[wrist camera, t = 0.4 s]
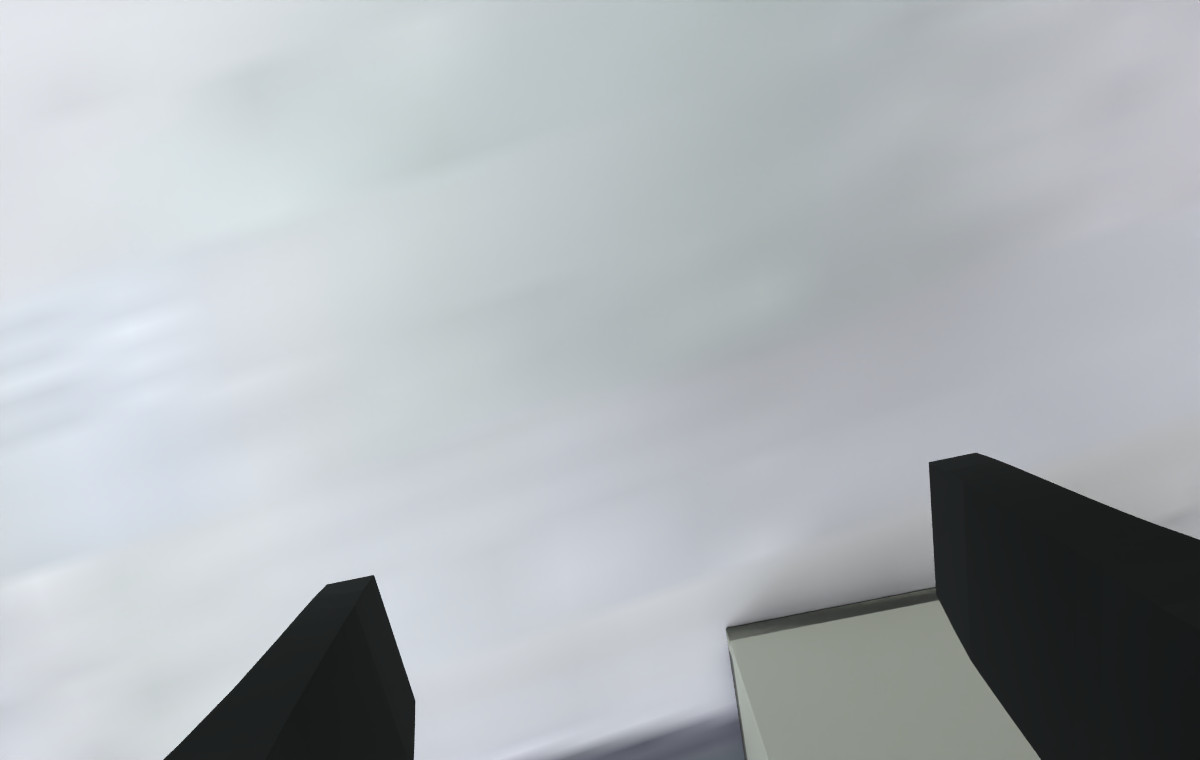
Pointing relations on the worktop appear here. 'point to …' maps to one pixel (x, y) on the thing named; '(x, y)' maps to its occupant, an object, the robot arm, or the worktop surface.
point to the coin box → (867, 687)
